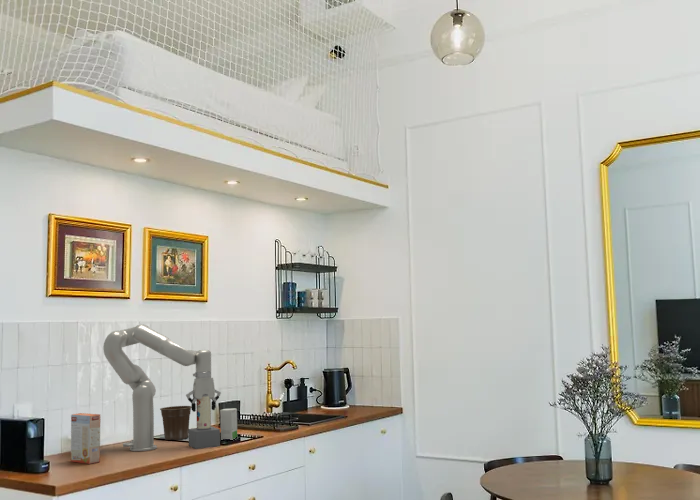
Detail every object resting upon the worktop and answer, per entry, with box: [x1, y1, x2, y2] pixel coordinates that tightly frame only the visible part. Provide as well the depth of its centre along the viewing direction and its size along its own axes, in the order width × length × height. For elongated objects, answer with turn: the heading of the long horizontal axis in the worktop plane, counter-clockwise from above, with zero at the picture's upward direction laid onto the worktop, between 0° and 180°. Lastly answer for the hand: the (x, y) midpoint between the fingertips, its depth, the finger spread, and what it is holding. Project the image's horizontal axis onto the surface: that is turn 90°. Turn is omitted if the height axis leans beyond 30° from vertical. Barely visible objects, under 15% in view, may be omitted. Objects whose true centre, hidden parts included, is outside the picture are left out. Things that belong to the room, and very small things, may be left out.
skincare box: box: [219, 407, 238, 441], centre depth 364 cm, size 8×7×16 cm
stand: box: [188, 426, 221, 450], centre depth 347 cm, size 12×12×8 cm
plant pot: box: [159, 405, 192, 441], centre depth 374 cm, size 16×16×16 cm
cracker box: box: [70, 412, 101, 465], centre depth 315 cm, size 14×6×21 cm, turn 54°
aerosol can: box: [195, 394, 212, 430], centre depth 349 cm, size 7×7×20 cm
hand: (203, 410), depth 348 cm, fingers open, 9 cm apart
